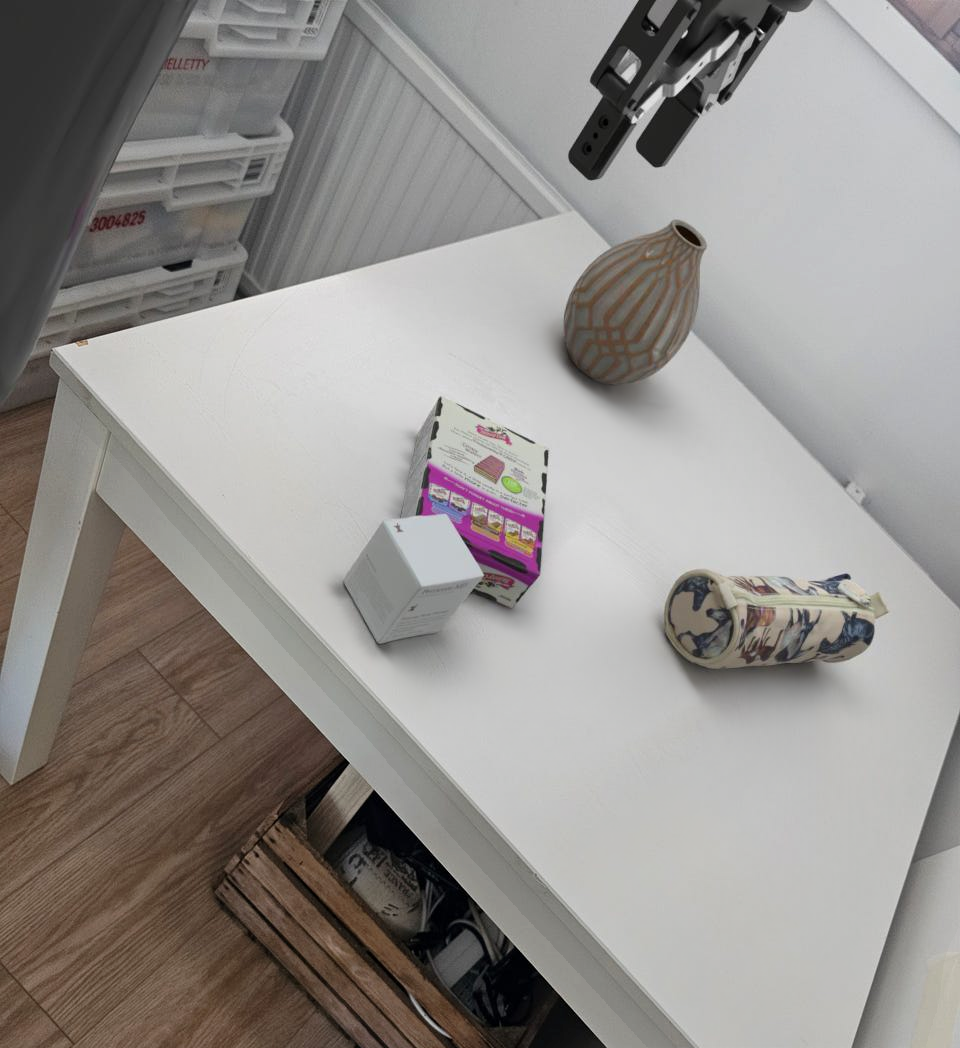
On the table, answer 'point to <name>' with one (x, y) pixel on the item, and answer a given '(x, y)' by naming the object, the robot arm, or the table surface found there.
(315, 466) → the table surface
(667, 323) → the vase
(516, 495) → the candy bar box
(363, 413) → the table surface
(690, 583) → the pencil case
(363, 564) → the product box
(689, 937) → the table surface
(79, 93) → the robot arm
